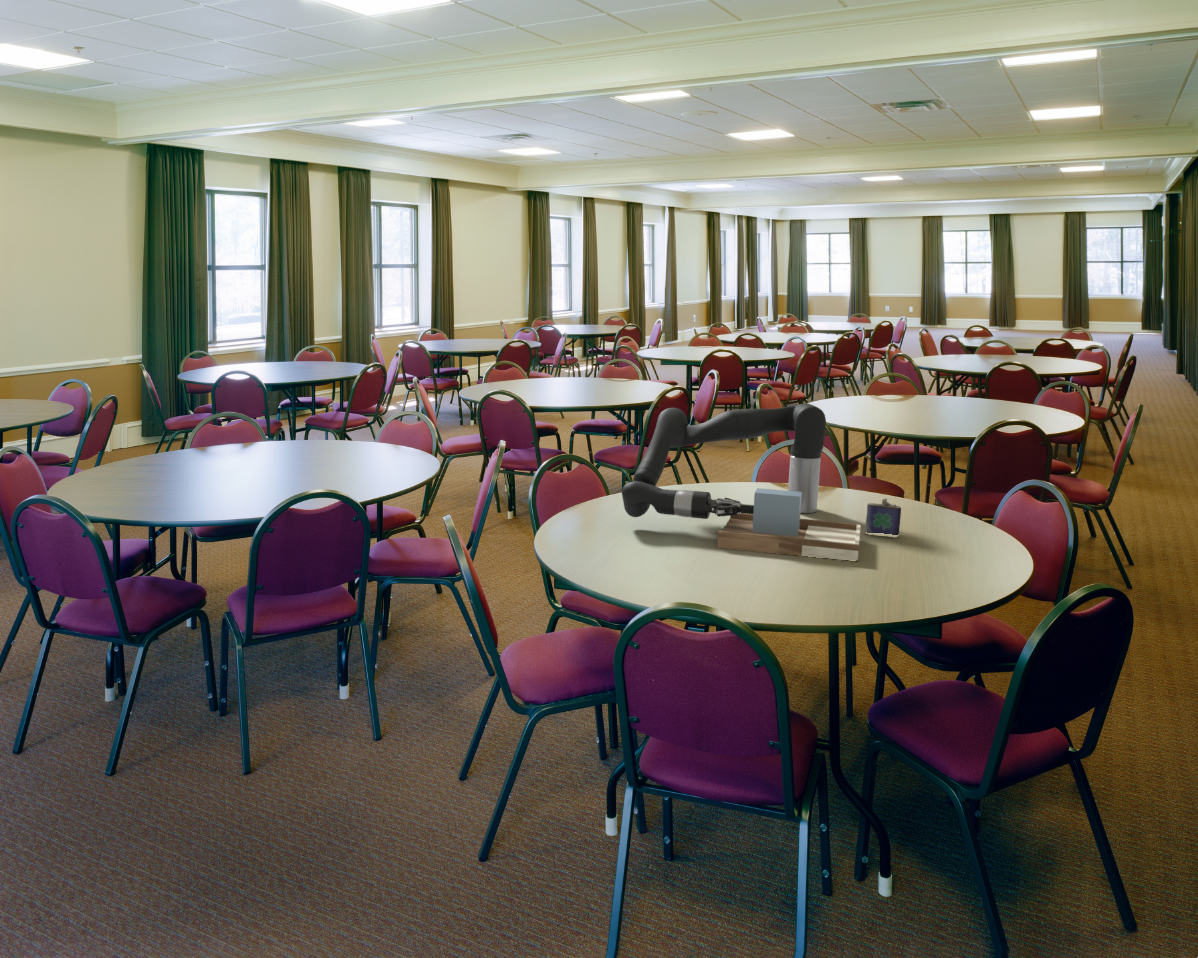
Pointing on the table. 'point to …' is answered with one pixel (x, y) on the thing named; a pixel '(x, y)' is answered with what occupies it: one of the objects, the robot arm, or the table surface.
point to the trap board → (794, 538)
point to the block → (777, 512)
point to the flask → (883, 518)
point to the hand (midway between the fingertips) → (754, 509)
